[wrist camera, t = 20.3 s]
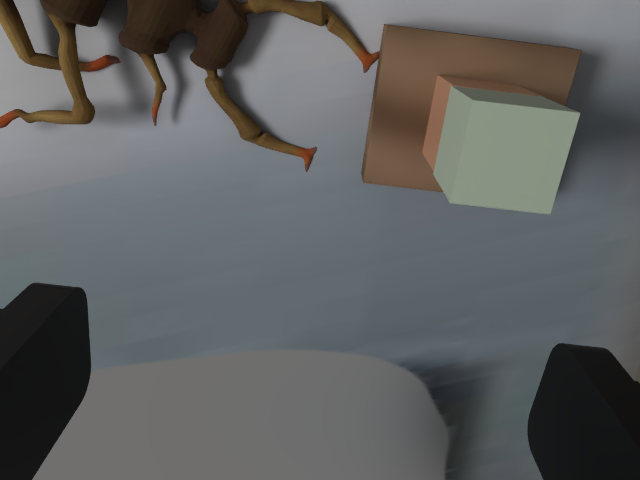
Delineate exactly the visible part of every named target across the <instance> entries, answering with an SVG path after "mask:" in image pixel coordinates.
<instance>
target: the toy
mask: <svg viewBox="0 0 640 480" xmlns="http://www.w3.org/2000/svg"><path fill="white" fill-rule="evenodd" d="M107 1H108V0H40V2H41V4H42V6H43V8H44V10H45V11H46V13H47V14H48V16H49V18H50V19H51V21H52V22H53V24H54V25H55V27H56V29H57V30H58V32H59V36H60V44H59V50H58V56H59V58H56V57H53V56H50V55H47V54H41V53H35V51H34V49H33V46H32V44H31V41H30V39H29V36H28V34H27V31H26V29H25V26H24V24H23V21H22V19H21V16H20V14H19V12H18V10H17V8H16V5H15V3H14V1H13V0H0V23H1V25H2V27H3V29H4V31H5V32H6V34H7V36H8V38H9V40H10V41H11V43H12V45H13V47H14V49H15V51H16V52H17V54H18V56H19V58H20V59H22V60H23V61H24V62H25V63H27V64H30V65H33V66H38V67H43V68H48V69H55V70H62V72H63V75H64V78H65V81H66V84H67V86H68V88H69V91H70V93H71V95H72V97H73V99H74V106H73V110H72V111H66V110H46V111H37V112H33V113H26V112H25V111H23V110H20V109H15V110H13V111H10V112H8V113H7V114H5V115H3V116H1V117H0V128H3V127H6V126H7V125H8V124H9V123H10V122H11V121H12V120H14V119H16V118H18V117H21V118H22V119H24V120H25V121H26V122H27V123H33V122H36V121H44V122H50V123H57V124H88V123H90V122H91V121H92V120H93V118H94V115H95V109H94V106H93V105H92V103H91V102H90V101H89V99H88V98H87V96H86V92H85V88H84V85H83V81H82V77H81V73H80V71H86V72H91V71H95V70H99V69H101V68H104V67H106V66H108V65H111V64H114V63H120V60H119V58H117V57H115V56H110V55H105V56H103V57H101V58H99V59H97V60H95V61H92V62H78V53H77V44H76V36H75V27H76V24H79V25H83V26H87V27H93V26H97V24H98V21H99V18H100V16H101V13H102V11H103V9H104V7H105V5H106V3H107ZM127 7H128V15H127V20H126V26H125V28H124V30H123V31H122V32H120V34H119V37H118V38H119V42H120V43H121V45H122V46H124V47H126V48H128V49H130V50H132V51H134V52H136V53H137V54H138V55H139V56H140V57H141V58H142V60H143V61H144V63H145V65H146V67H147V68H148V70H149V72H150V74H151V75H152V77H153V79H154V81H155V83H156V93H155V98H154V103H153V108H152V118H153V122H154V125H155V126H156V119H157V112H158V109H159V106H160V103H161V99H162V94H163V92H164V91H165V90H166V85H165V83H164V81H163V79H162V77H161V75H160V72H159V69H158V67H157V64H156V61H155V58H154V54H160V53H165V52H167V50H168V48H169V42H170V41H171V40H172V39H173V38H174V37H175V36H177V35H178V34H181V33H183V32H190V33H193V34H194V35H195V36H196V37H197V40H198V43H197V46H196V48H195V49H194V51H193V52H192V54H191V55H190V59H191V61H192V62H193V63H195V64H196V65H197V66H199V67H201V68H203V69H205V70H206V71H207V74H208V77H207V78H206V79H205V83H206V87H207V88H208V90H209V92H210V94H211V96H212V97H213V98H214V100H215V101H216V102H217V103H218V104H219V106H220V107H221V108H222V109H223V110H224V111H225V113H226V114H227V115H228V116H229V117H230V118H231V119H232V121H233V122H234V124H235V126H236V127H237V129H238V131H239V134H240V137H241V138H242V139H243V140H246V141H249V142H252V143H255V144H257V145H259V146H262V147H265V148H269V149H272V150H275V151H279V152H283V153H287V154H291V155H295V156H299V157H302V158H303V159H304V161H305V170H306V172H307V171H308V169H309V166H310V163H311V160H312V157H313V155H314V153H315V152H316V151H317V147H314V148H311V149H305V148H301V147H297V146H294V145H291V144H288V143H284V142H282V141H279V140H277V139H276V138H274V137H273V136H271V135H270V134H268V133H267V132H266V133H263V134H261V135H259V133H260V132H261V129H260V127H259V126H258V125H257V124H256V123H255V122H254V121H253V120H251V119H250V118H249V117H248V116H247V115H246V114H245V113H244V112H242V111H241V110H240V109H239V108H238V107H237V106H236V105H235V104H234V103H233V102H232V101H231V100H230V98H229V97H228V95H227V94H226V91H225V89H224V85H223V80H222V79H221V78H220V77H219V76H218V74H217V69H220V68H225V67H226V66H227V65H228V64H229V63H230V62H231V60H232V58H233V56H234V53H235V51H236V49H237V47H238V45H239V44H240V42H241V41H242V39H243V37H244V36H245V34H246V31H247V28H248V22H247V18H246V14H248V13H255V14H261V13H264V12H269V11H278V12H284V13H286V14H289V15H291V16H294V17H297V18H299V19H302V20H304V21H307V22H310V23H313V24H316V25H319V26H323V25H324V23H325V21H326V20H327V29H328V31H330V32H332V33H333V34H335V35H337V36H338V37H340V38H341V39H342V40H343V41H344V42H345V43H346V44H347V45H348V46H349V47H350V48H351V49H352V50H353V52H354V53H355V54H356V55H357V56H358V58H359V59H360V60H361V62H362V64H363V70H364V73H366V72H367V71H368V70H369V68H370V66H371V65H372V64H373V63H374V62H375V61H376V60H377V59H378V58H379V54H380V51H379V52H376V53H373V54H370V53H368V52H367V51H366V50H365V49H364V47H363V46H362V45H361V44H360V42H359V41H358V40H357V39H356V37H355V36H354V35H353V33H352V32H351V31H350V30H349V29H348V28H347V26H346V25H345V24H344V23H343V22H342V21H341V20H340V19H339V17H338V16H337V15H336V14H334V13H333V12H332V11H331V10H330V9H329V8H328V7H327V6H326V5H325V4H324V3H323V2H322V1H315V2H298V1H294V0H248V1H247V2H246V3H239V2H237V1H236V0H219V2H218V4H217V7H216V8H215V10H214V11H213V12H207V11H205V10H203V9H202V7H201V6H200V5H199V0H127Z"/></svg>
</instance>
